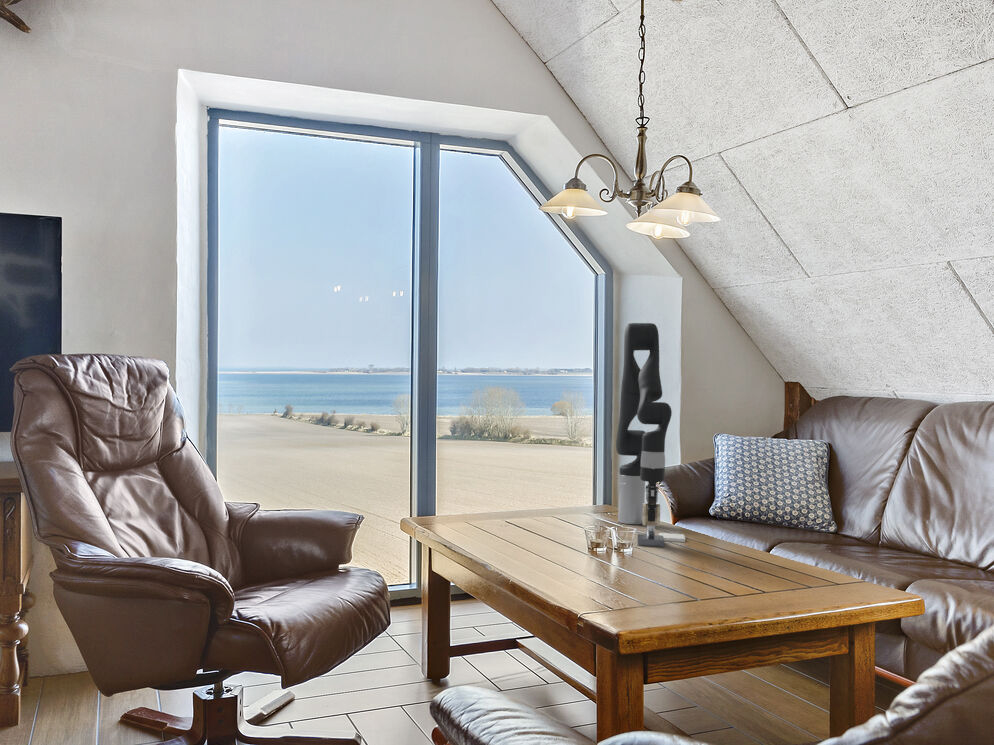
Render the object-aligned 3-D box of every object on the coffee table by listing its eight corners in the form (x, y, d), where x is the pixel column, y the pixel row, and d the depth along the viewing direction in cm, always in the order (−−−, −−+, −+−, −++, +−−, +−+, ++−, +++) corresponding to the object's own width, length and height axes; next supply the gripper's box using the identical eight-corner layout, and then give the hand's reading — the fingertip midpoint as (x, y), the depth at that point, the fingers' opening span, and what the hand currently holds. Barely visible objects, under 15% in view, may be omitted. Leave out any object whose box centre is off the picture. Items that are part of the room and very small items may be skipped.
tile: (658, 535, 272) (658, 532, 272) (683, 537, 270) (683, 534, 270) (659, 540, 264) (659, 537, 264) (685, 542, 262) (685, 538, 262)
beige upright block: (642, 522, 261) (643, 503, 261) (659, 523, 261) (659, 504, 261) (642, 525, 256) (643, 505, 256) (659, 526, 255) (660, 506, 255)
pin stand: (637, 540, 263) (638, 513, 263) (662, 541, 262) (663, 515, 262) (637, 545, 255) (638, 517, 255) (663, 546, 254) (664, 519, 254)
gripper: (640, 462, 266) (638, 515, 266) (640, 467, 252) (639, 523, 252) (663, 463, 265) (662, 516, 265) (665, 468, 251) (664, 524, 251)
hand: (651, 519), depth 258 cm, fingers closed on beige upright block, 5 cm apart
